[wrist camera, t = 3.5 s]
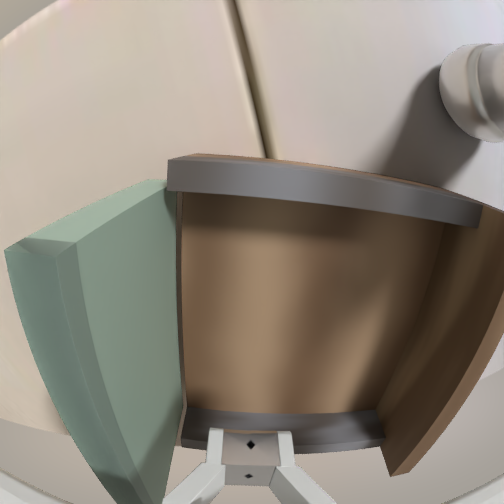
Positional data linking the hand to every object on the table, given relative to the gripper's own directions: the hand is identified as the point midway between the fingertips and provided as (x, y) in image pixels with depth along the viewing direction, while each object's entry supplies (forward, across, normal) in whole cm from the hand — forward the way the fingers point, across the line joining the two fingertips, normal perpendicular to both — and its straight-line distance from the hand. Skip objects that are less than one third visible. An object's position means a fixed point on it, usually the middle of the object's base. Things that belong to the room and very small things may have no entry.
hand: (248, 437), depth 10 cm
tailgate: (+8, +4, 0) cm, 9 cm away
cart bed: (+11, -4, 0) cm, 11 cm away
